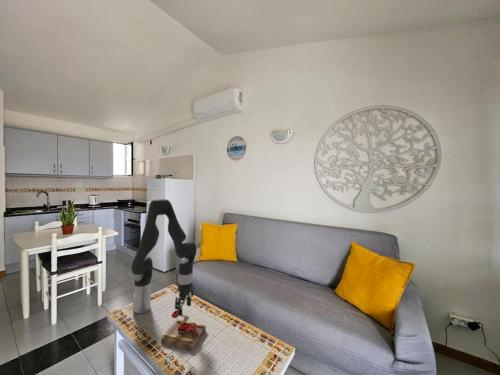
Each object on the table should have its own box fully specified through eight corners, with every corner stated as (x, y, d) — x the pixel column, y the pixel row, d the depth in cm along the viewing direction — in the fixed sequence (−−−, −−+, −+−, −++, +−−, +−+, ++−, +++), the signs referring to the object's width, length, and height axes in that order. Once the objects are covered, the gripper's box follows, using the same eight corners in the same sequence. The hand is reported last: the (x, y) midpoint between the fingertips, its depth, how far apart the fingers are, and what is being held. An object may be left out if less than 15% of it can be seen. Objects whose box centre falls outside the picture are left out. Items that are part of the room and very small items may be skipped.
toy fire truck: (194, 335, 107) (195, 317, 107) (171, 330, 110) (171, 313, 110) (197, 330, 111) (198, 313, 110) (174, 326, 113) (174, 309, 113)
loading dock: (161, 343, 105) (161, 335, 105) (177, 324, 119) (177, 317, 119) (192, 351, 101) (192, 343, 101) (205, 331, 115) (205, 324, 115)
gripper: (186, 273, 117) (185, 301, 117) (171, 285, 103) (170, 317, 104) (198, 275, 115) (197, 303, 116) (184, 288, 101) (183, 320, 102)
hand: (184, 310), depth 110 cm, fingers open, 8 cm apart
